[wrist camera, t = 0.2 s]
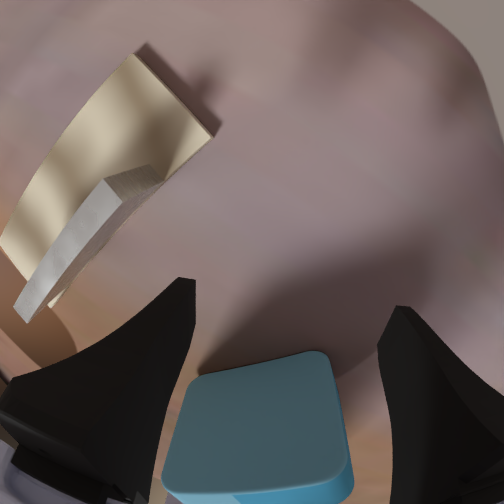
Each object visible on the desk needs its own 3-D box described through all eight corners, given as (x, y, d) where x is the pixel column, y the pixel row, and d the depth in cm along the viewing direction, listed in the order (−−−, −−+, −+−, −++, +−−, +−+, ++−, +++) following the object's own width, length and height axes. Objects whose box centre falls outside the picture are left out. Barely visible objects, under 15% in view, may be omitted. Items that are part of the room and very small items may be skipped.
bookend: (56, 302, 24) (12, 346, 18) (4, 238, 22) (-47, 268, 16) (214, 137, 19) (184, 140, 12) (138, 55, 17) (83, 30, 10)
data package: (210, 407, 27) (187, 516, 16) (189, 375, 26) (154, 492, 15) (336, 381, 25) (357, 501, 14) (326, 344, 24) (350, 475, 13)
